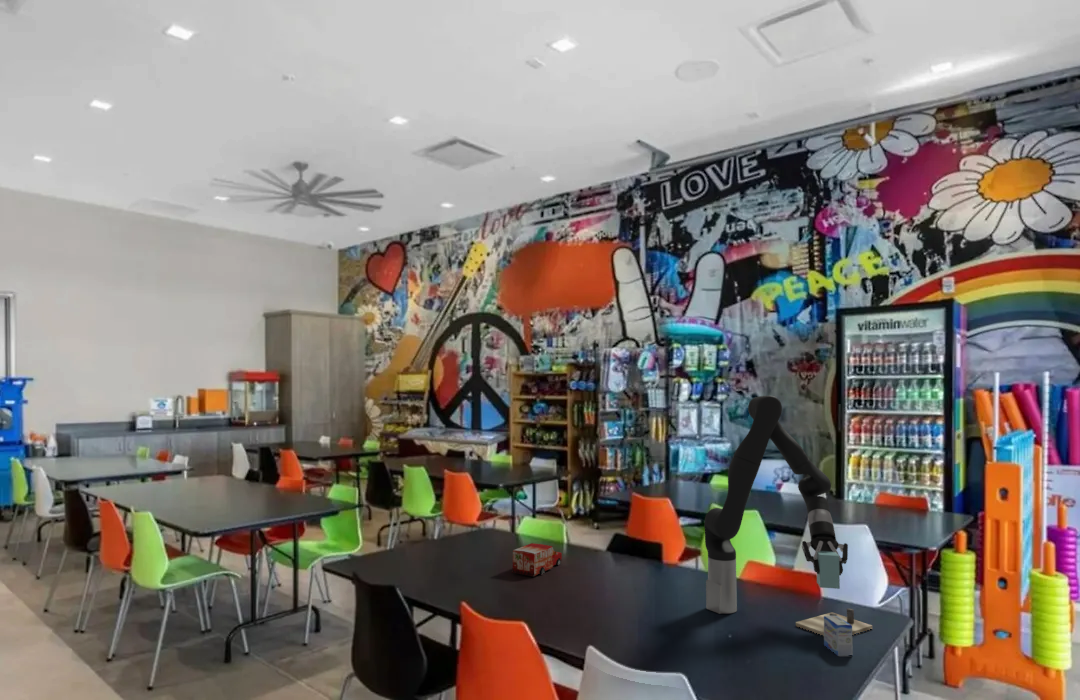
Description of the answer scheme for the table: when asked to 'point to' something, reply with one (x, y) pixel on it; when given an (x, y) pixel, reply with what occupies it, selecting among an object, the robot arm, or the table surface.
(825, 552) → the grey-green tall block
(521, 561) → the ambulance
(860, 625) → the pin board
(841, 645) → the medicine box
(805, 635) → the table surface
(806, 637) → the table surface
